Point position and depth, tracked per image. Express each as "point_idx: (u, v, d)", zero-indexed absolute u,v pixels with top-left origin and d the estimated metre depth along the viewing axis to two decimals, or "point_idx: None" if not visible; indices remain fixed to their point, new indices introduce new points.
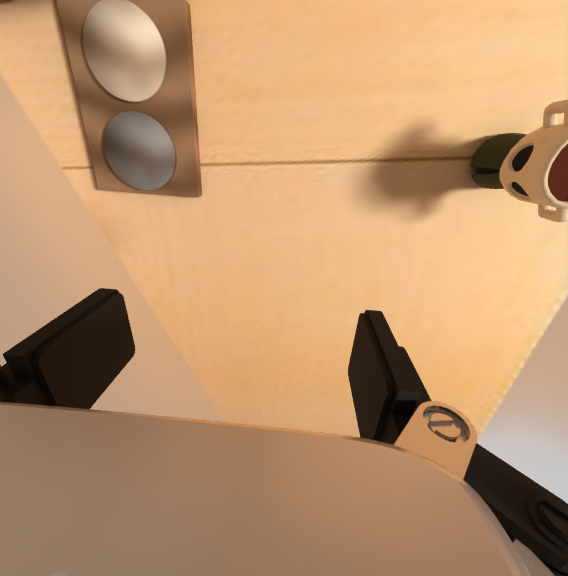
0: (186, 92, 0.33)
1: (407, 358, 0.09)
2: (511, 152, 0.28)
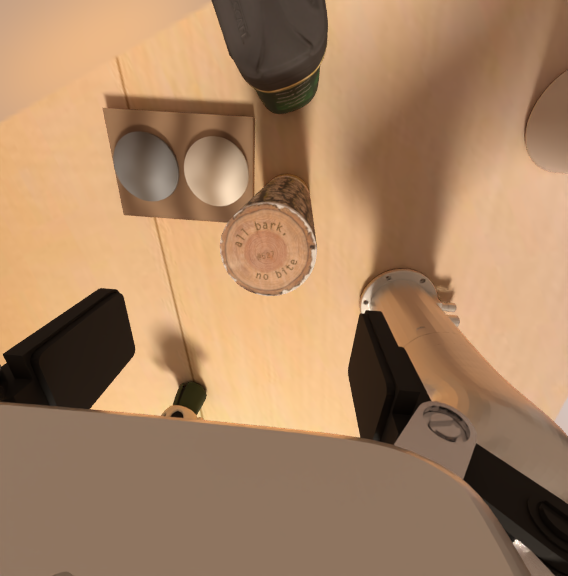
0: (199, 216, 0.42)
1: (407, 358, 0.09)
2: (181, 409, 0.53)
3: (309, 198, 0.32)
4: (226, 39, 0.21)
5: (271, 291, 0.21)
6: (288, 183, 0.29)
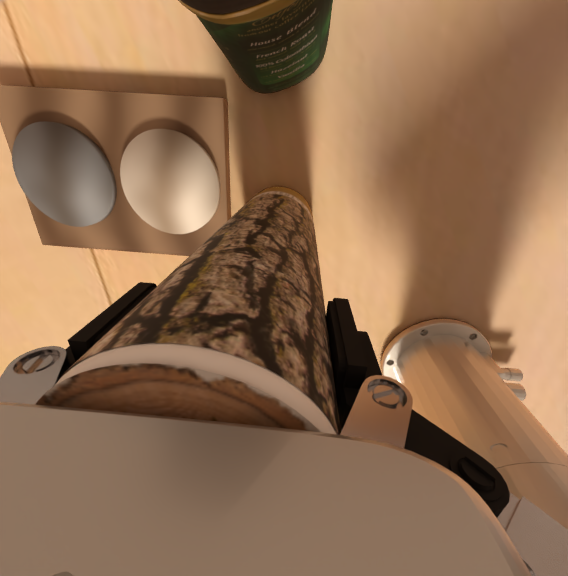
0: (150, 248, 0.29)
1: (368, 341, 0.10)
2: None
3: (313, 232, 0.19)
4: None
5: None
6: (275, 212, 0.16)
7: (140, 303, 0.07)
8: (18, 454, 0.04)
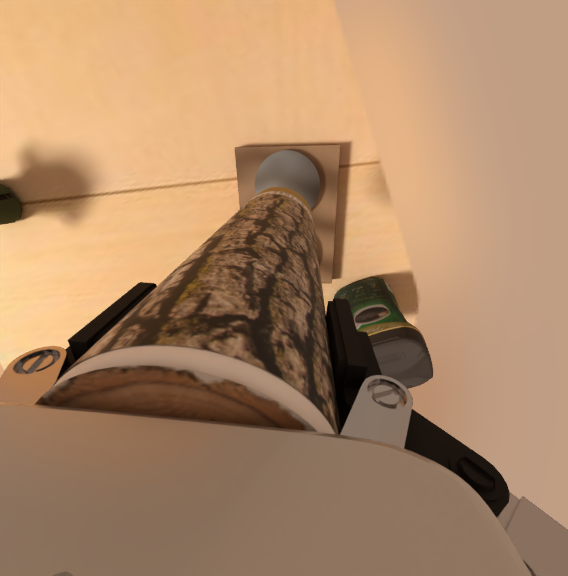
0: None
1: (368, 341, 0.10)
2: None
3: (313, 233, 0.19)
4: (376, 346, 0.31)
5: None
6: (275, 212, 0.16)
7: (139, 304, 0.07)
8: (18, 454, 0.04)
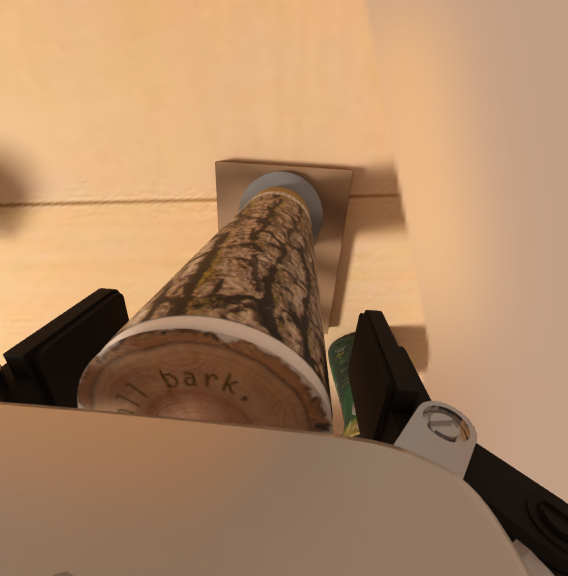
0: None
1: (407, 358, 0.09)
2: None
3: (310, 230, 0.20)
4: None
5: None
6: (275, 211, 0.17)
7: (163, 288, 0.09)
8: (18, 454, 0.04)
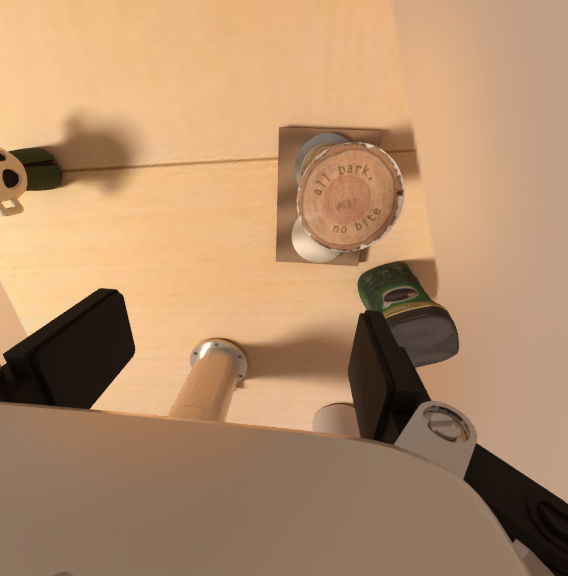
0: (280, 213, 0.44)
1: (407, 358, 0.09)
2: (23, 181, 0.38)
3: None
4: (408, 322, 0.33)
5: (348, 246, 0.19)
6: None
7: (319, 151, 0.19)
8: (17, 454, 0.04)
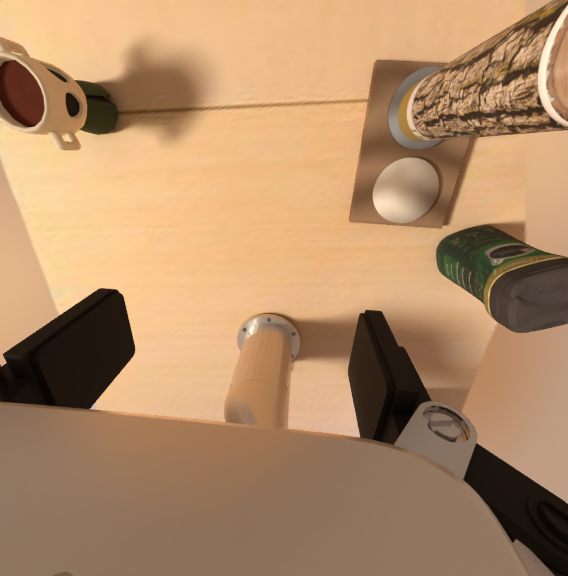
0: (363, 164, 0.39)
1: (407, 358, 0.09)
2: (84, 111, 0.33)
3: None
4: (540, 274, 0.29)
5: None
6: None
7: None
8: (18, 454, 0.04)
